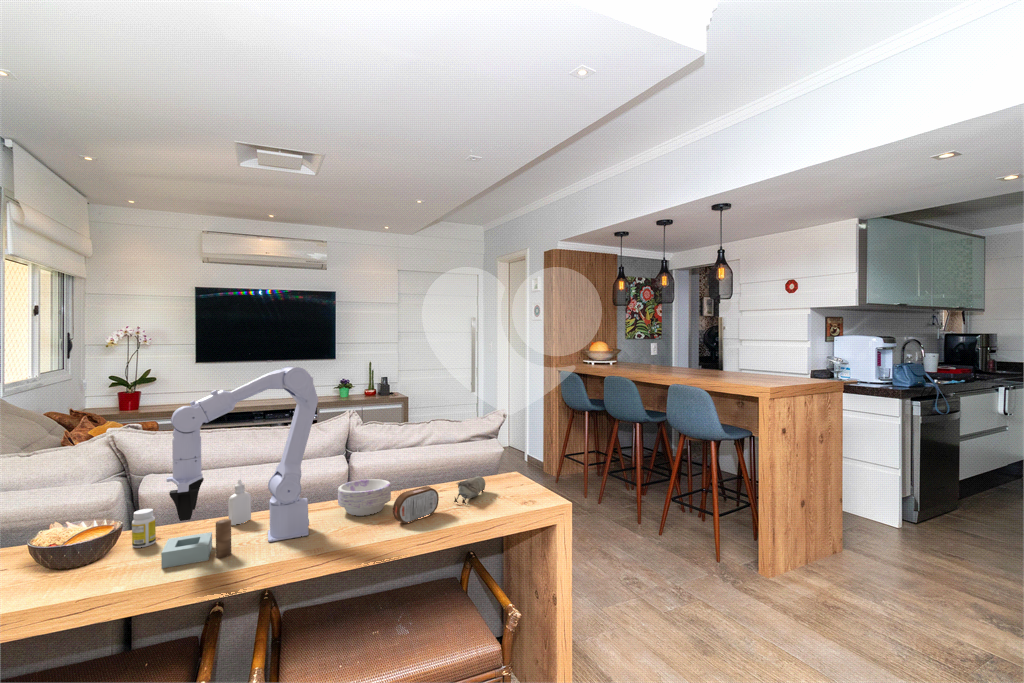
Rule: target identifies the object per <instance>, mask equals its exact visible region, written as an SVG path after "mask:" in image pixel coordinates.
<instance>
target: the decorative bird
mask: <svg viewBox="0 0 1024 683" xmlns="http://www.w3.org/2000/svg"><path fill="white" fill-rule="evenodd" d="M455 484H456V485H458V487H457V488H458V494H457V497H454V501H453V502H454V503H456V502H457V504H458V503H459V501H458V499H459V496H461V497H462V504H464V503H465V505H466V504H467V502H466V500H467V499H468V500H470V499H473V498H475V497H478V496H479V494H480V492H481V491H483V490H484V491H485V490H486V479H485V478H484V477H483V476H482V475H481V476H480V475H477V476H474V477H469V478H467V479H464V480H461V481H458V482H455ZM484 491H483V492H484ZM472 497H473V498H472ZM469 498H470V499H469Z"/></svg>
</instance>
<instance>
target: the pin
mask: <svg viewBox="0 0 1024 683" xmlns="http://www.w3.org/2000/svg"><path fill="white" fill-rule="evenodd" d="M231 555H232V525H231V520H230V519H229V518H226V519H219V520H217V521H216V522H215V558H216V559H224V558H227V557H230V556H231Z"/></svg>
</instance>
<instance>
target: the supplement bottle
mask: <svg viewBox="0 0 1024 683" xmlns="http://www.w3.org/2000/svg"><path fill="white" fill-rule="evenodd" d="M156 537H157V536H156V517H155V516H154V509H153V508H143V509H142V508H141V509H138V510H136V511H134V512H133V520H132V521H131V544H132V545H131V546H132V547H133V548H135V549H139V548H141V547H142V548H146V547H149V546H152V545H154V544H155V543H156V541H157V540H156V539H157V538H156Z"/></svg>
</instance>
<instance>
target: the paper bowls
mask: <svg viewBox="0 0 1024 683" xmlns="http://www.w3.org/2000/svg"><path fill="white" fill-rule="evenodd" d="M391 488H392V484H391V482H390V481H388V480H385V479H378V478H369V479H367V478H366V479H359V480H352V481H347V482H345V483H343V484H341V485H339V486H338V488H337V503H338V504H337V505H338V506H339V507H342V508H343V509H344V510H345V512H346V513H347V514H349V515H350V514H351V516H354V515H356V516H355V517H365V516H364V515H366V516H371V515H370V514H372V515H374V513H375V514H377V512H378V513H379V512H381V511H382V510H383V509H384V507H385V506H386V504H387V503H388V502H390V501H391V500H392V492H391V491H392V489H391Z"/></svg>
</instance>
